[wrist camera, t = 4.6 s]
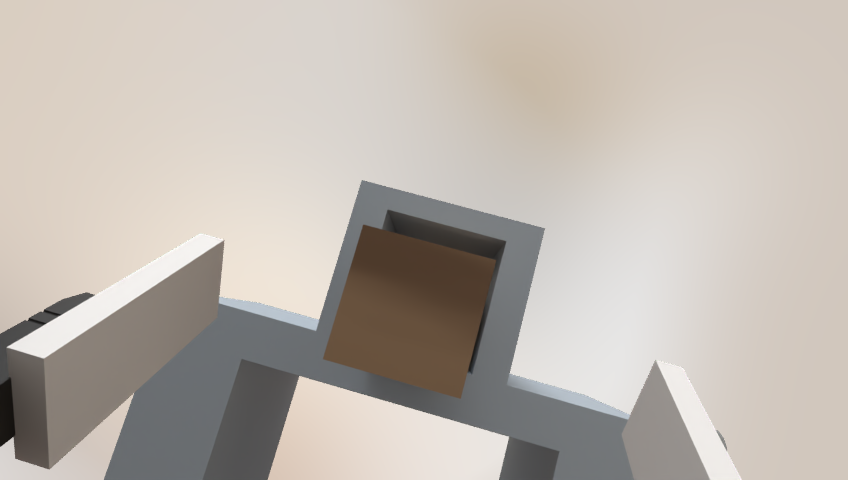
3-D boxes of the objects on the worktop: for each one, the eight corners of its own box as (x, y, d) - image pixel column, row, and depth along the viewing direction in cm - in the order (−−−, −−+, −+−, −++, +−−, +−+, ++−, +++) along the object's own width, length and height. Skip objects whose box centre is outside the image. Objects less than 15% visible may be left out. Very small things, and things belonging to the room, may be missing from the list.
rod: (460, 399, 13) (496, 260, 13) (322, 359, 13) (363, 224, 14) (444, 354, 36) (457, 304, 37) (395, 340, 37) (408, 291, 37)
